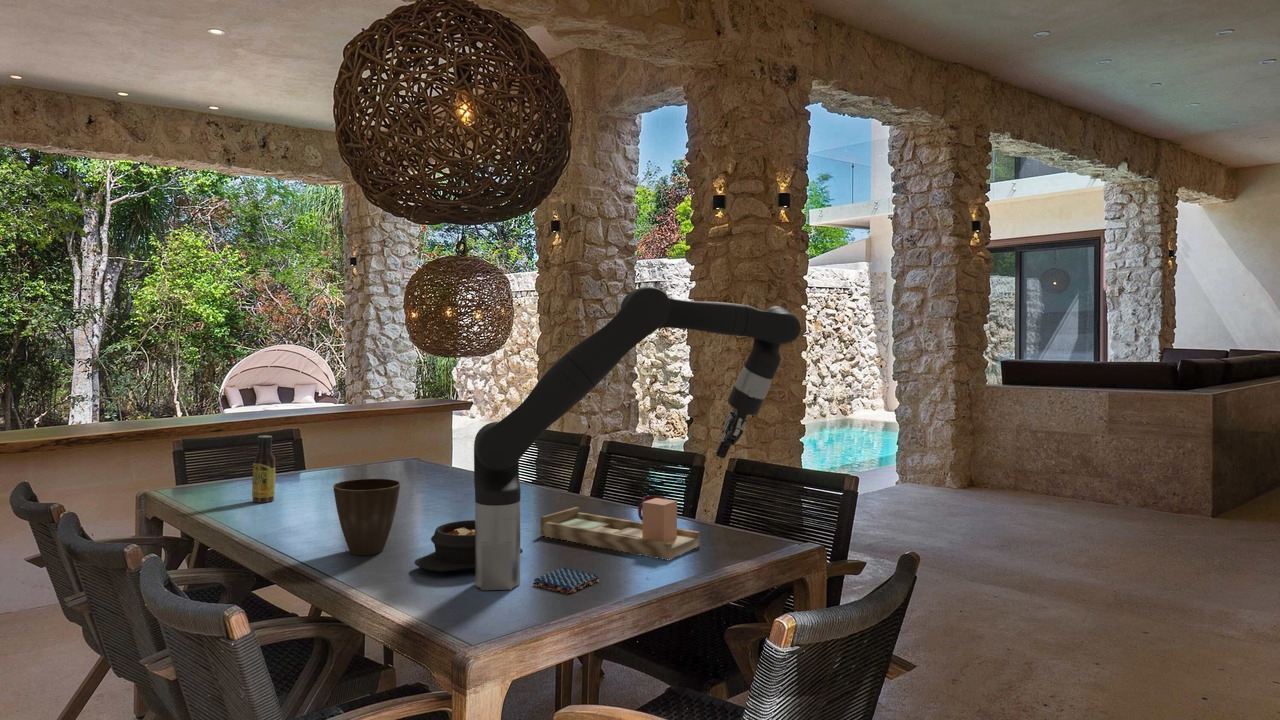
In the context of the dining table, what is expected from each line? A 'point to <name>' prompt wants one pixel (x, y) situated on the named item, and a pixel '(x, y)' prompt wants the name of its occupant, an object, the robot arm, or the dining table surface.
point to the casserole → (452, 548)
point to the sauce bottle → (263, 472)
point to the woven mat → (565, 580)
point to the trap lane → (614, 534)
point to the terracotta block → (659, 520)
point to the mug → (644, 501)
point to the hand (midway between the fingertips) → (719, 456)
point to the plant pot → (366, 512)
